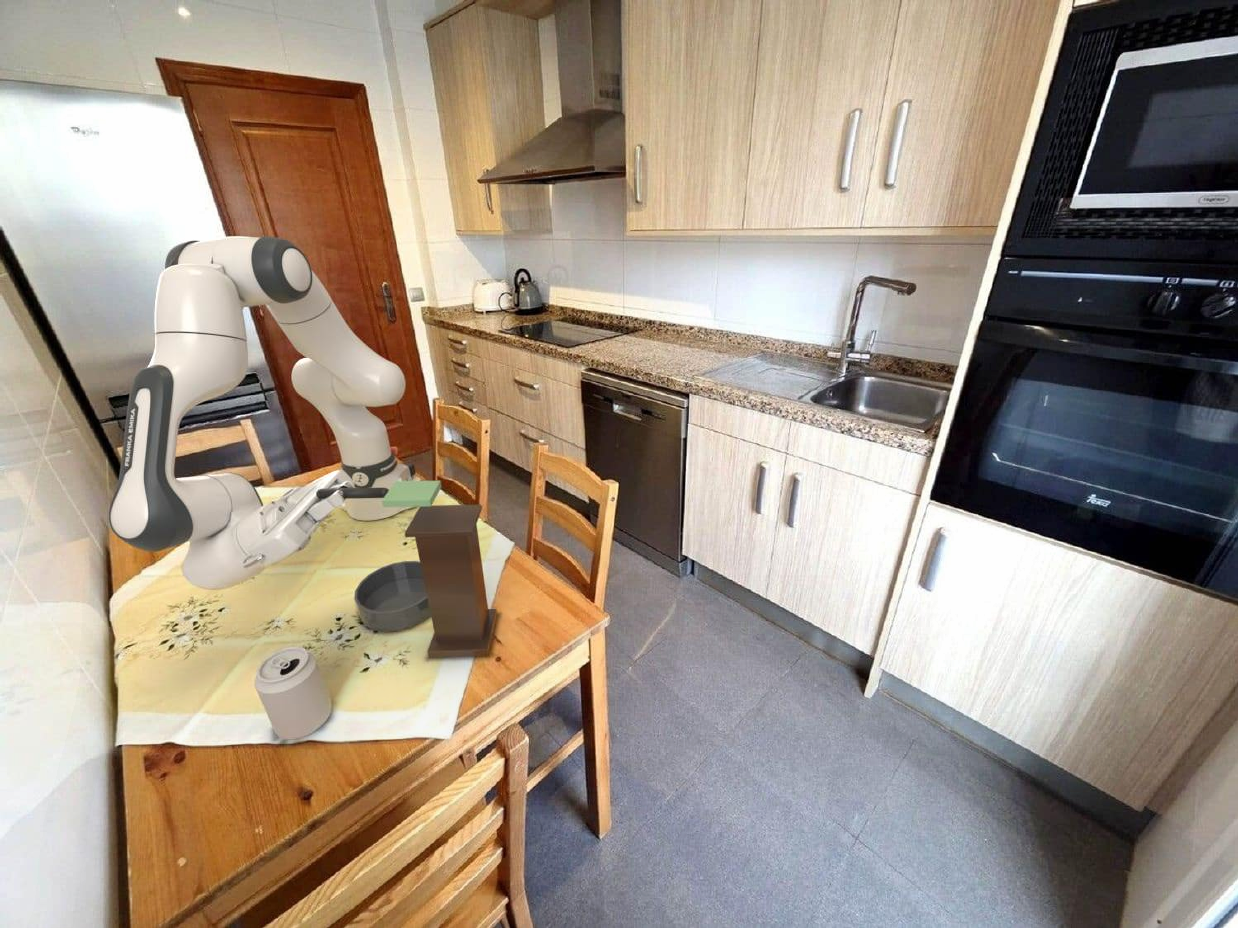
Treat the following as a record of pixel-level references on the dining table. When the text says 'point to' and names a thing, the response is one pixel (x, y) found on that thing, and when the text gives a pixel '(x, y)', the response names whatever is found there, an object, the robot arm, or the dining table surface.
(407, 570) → the pan
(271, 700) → the can
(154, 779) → the dining table surface
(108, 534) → the dining table surface
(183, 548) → the dining table surface
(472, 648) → the stand
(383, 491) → the spatula
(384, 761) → the dining table surface
